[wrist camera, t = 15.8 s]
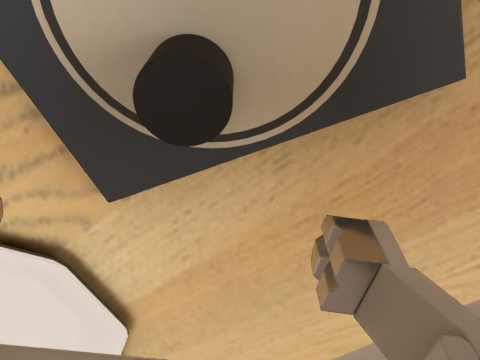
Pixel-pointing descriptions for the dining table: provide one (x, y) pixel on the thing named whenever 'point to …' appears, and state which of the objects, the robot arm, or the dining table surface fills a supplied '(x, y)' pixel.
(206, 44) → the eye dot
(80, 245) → the dining table surface
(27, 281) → the plate
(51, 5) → the board
